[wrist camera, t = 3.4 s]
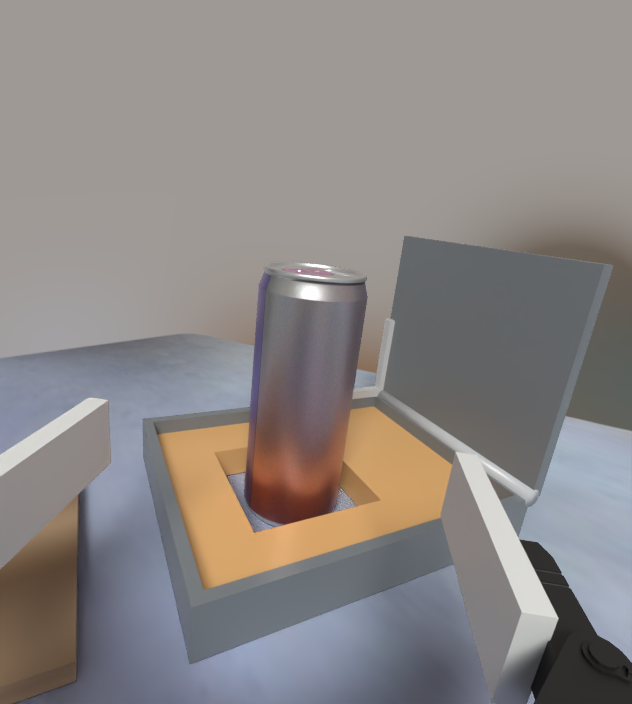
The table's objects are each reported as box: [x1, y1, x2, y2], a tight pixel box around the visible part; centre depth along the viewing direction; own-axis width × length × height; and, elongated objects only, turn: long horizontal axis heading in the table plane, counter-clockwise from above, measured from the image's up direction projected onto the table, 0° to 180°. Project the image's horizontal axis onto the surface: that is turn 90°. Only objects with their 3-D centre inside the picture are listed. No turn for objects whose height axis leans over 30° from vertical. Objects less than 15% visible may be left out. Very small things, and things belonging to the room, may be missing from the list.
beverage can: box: [244, 262, 367, 527], centre depth 25 cm, size 6×6×15 cm
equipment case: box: [143, 236, 613, 664], centre depth 26 cm, size 16×21×17 cm
